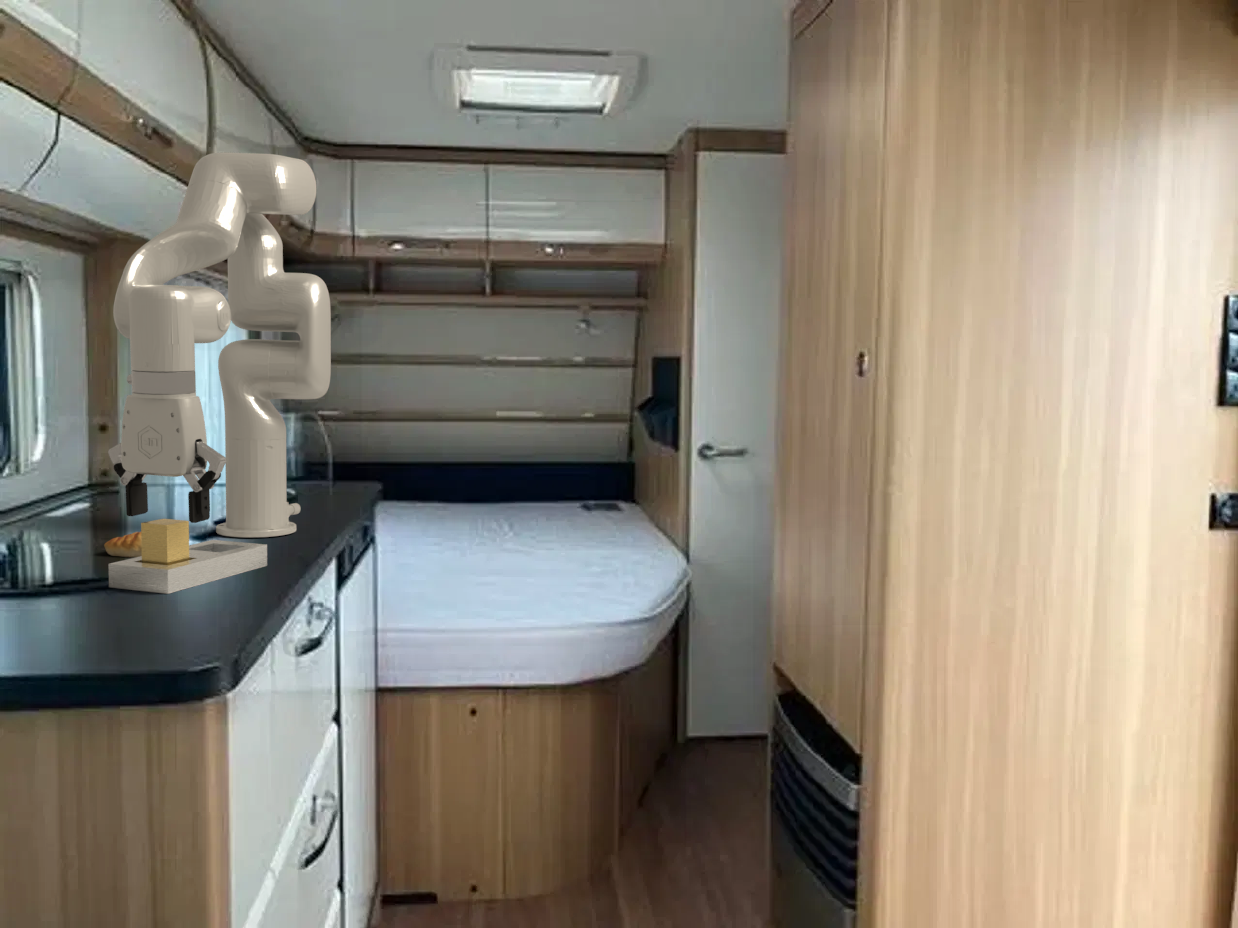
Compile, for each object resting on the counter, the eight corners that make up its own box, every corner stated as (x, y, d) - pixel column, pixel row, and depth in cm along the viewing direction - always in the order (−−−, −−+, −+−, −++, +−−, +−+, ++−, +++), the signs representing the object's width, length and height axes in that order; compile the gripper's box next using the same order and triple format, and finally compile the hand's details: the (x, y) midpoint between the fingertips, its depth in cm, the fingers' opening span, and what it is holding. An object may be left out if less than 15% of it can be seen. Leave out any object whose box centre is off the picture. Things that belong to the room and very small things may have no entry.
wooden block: (164, 578, 145) (163, 518, 144) (189, 581, 144) (188, 520, 143) (142, 584, 141) (141, 522, 140) (167, 587, 140) (166, 525, 139)
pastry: (98, 559, 158) (98, 533, 158) (113, 551, 165) (112, 526, 164) (167, 559, 159) (167, 533, 159) (179, 551, 166) (178, 526, 166)
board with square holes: (213, 560, 158) (213, 539, 158) (267, 565, 155) (267, 544, 155) (108, 587, 139) (108, 563, 139) (168, 593, 136) (167, 569, 136)
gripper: (86, 383, 139) (92, 517, 142) (201, 390, 134) (205, 528, 136) (129, 380, 146) (134, 507, 149) (240, 386, 141) (243, 518, 144)
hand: (168, 517), depth 143 cm, fingers open, 9 cm apart
